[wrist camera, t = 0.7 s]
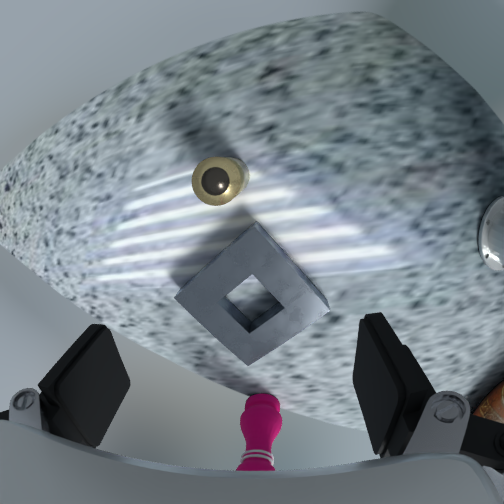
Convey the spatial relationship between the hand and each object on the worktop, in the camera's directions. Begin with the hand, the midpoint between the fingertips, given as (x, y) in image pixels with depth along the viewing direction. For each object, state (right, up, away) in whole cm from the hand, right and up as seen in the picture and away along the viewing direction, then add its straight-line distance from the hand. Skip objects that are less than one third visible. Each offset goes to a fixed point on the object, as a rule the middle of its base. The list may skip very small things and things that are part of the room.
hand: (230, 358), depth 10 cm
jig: (+1, -2, +31) cm, 31 cm away
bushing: (-2, +13, +26) cm, 29 cm away
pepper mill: (+3, -24, +38) cm, 45 cm away
